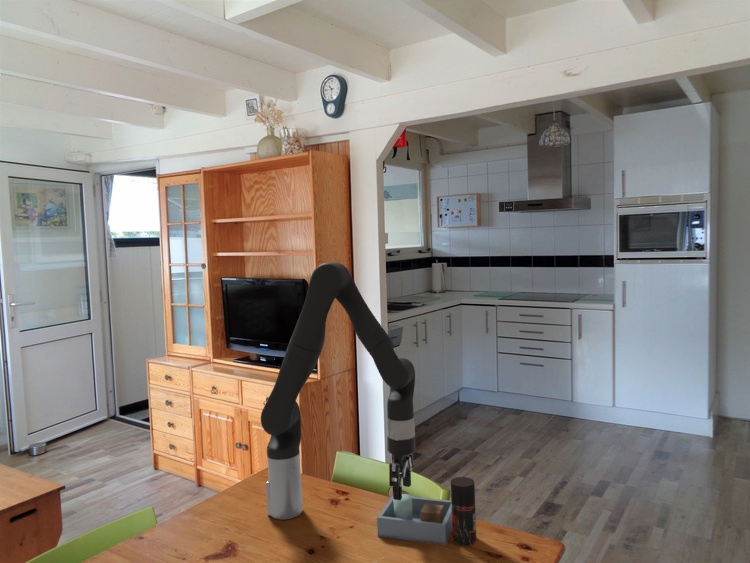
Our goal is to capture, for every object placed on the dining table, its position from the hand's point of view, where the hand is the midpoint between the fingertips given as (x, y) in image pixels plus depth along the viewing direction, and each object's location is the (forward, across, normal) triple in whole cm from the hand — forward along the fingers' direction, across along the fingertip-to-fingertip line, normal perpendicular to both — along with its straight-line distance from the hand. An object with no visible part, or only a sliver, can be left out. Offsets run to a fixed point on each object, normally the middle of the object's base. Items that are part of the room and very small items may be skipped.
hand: (402, 492), depth 149 cm
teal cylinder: (+8, +1, 0) cm, 8 cm away
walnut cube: (+8, +1, +8) cm, 12 cm away
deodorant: (+8, +4, +18) cm, 20 cm away
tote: (+9, +1, +4) cm, 10 cm away
